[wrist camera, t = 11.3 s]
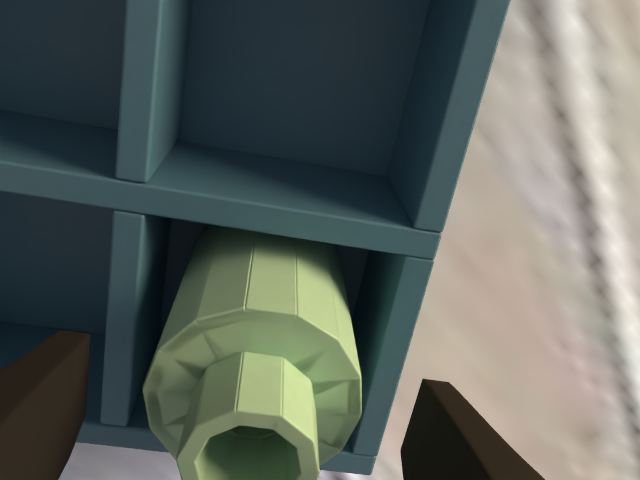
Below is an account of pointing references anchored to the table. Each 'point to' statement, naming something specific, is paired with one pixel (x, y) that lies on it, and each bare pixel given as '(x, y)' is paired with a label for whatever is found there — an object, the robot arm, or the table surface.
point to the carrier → (226, 168)
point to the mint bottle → (256, 360)
